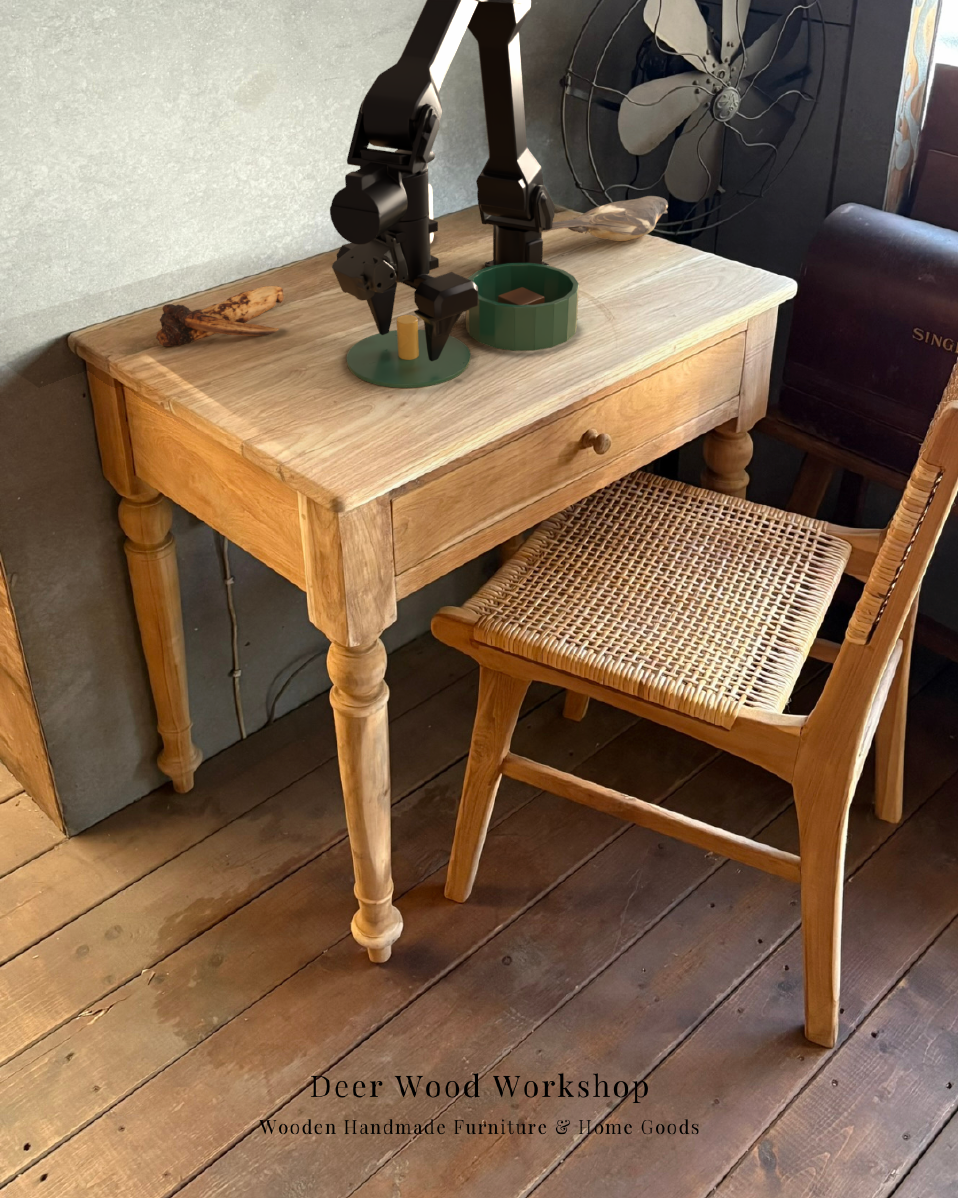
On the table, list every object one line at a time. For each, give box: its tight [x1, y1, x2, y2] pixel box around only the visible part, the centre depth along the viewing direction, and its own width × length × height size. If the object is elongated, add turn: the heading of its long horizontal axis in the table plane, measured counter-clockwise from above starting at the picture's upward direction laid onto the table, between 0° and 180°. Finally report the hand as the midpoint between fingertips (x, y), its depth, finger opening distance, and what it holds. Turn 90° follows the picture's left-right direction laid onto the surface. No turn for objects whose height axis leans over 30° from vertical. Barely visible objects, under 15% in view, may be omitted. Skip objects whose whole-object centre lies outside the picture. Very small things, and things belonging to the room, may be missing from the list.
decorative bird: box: [542, 195, 669, 242], centre depth 167 cm, size 6×25×5 cm, turn 127°
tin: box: [465, 263, 580, 352], centre depth 144 cm, size 13×14×6 cm
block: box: [498, 287, 545, 305], centre depth 145 cm, size 4×4×4 cm
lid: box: [346, 314, 471, 389], centre depth 137 cm, size 14×14×6 cm
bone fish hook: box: [155, 285, 285, 347], centre depth 144 cm, size 9×5×18 cm
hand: (408, 346), depth 138 cm, fingers open, 9 cm apart
